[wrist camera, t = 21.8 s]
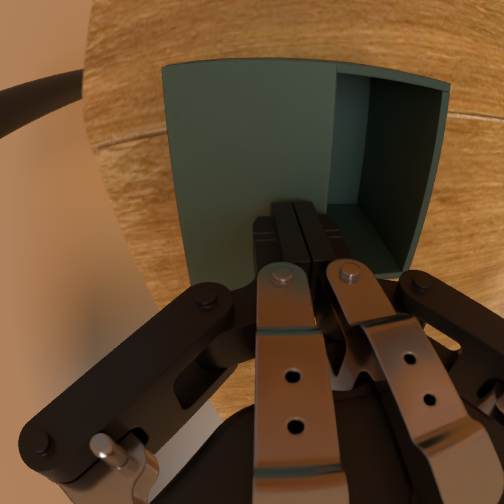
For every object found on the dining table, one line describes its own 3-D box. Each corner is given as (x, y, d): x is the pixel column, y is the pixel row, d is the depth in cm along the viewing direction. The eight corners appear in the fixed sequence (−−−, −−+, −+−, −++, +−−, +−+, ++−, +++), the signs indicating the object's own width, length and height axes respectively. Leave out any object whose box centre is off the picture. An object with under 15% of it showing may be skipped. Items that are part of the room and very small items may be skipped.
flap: (196, 296, 17) (193, 301, 17) (166, 66, 10) (161, 67, 10) (310, 323, 15) (308, 328, 15) (337, 64, 8) (336, 64, 8)
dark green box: (205, 210, 25) (195, 291, 17) (193, 60, 18) (165, 64, 10) (359, 205, 26) (406, 277, 18) (374, 66, 19) (451, 83, 11)
